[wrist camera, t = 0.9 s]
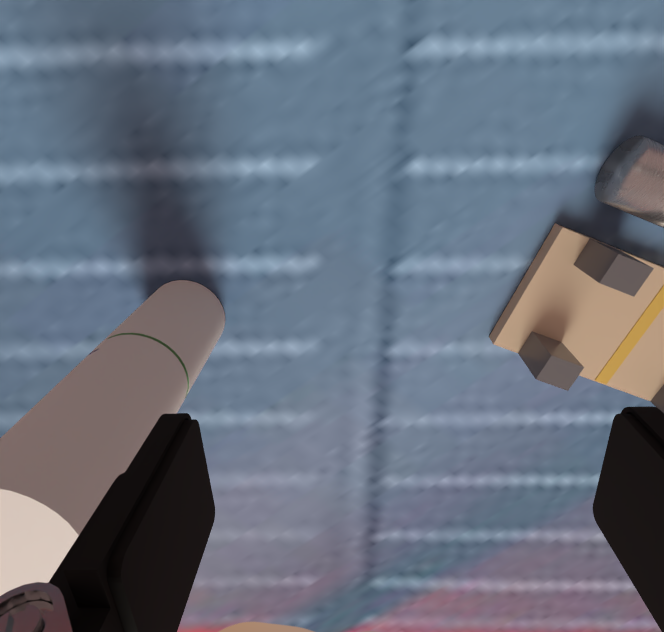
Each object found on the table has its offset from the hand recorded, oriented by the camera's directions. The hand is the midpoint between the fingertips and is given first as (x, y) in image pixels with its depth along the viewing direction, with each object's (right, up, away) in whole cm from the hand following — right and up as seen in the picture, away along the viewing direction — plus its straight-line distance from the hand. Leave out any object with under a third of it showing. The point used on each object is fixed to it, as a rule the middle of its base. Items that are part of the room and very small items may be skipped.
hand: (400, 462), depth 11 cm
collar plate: (+25, +3, +32) cm, 41 cm away
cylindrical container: (-15, +3, +33) cm, 36 cm away
